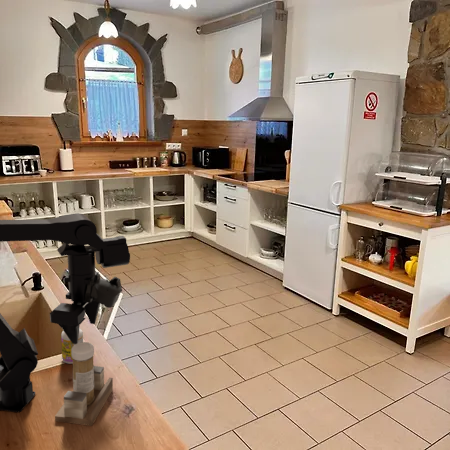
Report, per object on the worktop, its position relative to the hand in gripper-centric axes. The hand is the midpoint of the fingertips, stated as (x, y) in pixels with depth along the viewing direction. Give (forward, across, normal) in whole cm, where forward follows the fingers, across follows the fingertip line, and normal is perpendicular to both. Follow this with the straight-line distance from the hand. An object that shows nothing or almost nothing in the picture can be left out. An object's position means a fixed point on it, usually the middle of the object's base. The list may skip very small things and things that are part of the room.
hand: (84, 333), depth 98 cm
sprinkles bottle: (+12, -8, -3) cm, 15 cm away
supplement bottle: (+13, +8, +8) cm, 17 cm away
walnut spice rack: (+13, -8, -3) cm, 15 cm away
